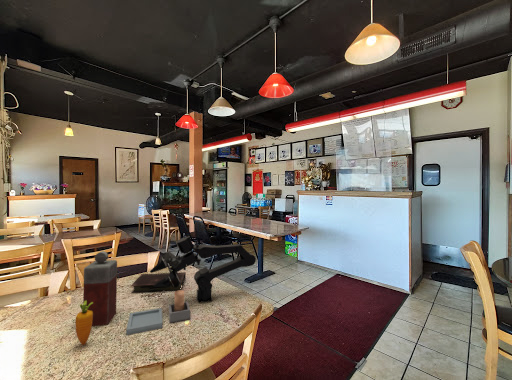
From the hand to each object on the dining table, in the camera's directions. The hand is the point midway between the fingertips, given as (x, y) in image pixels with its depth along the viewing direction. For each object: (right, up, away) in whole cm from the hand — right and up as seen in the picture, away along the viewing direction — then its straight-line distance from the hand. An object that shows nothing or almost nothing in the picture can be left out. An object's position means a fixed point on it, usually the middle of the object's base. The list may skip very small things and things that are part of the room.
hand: (152, 278), depth 106 cm
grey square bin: (+14, -14, -6) cm, 21 cm away
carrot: (-12, -13, -25) cm, 31 cm away
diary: (-7, -14, +25) cm, 29 cm away
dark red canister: (-17, -13, -9) cm, 23 cm away
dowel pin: (+14, -13, -6) cm, 20 cm away
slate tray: (+2, -13, -11) cm, 18 cm away
